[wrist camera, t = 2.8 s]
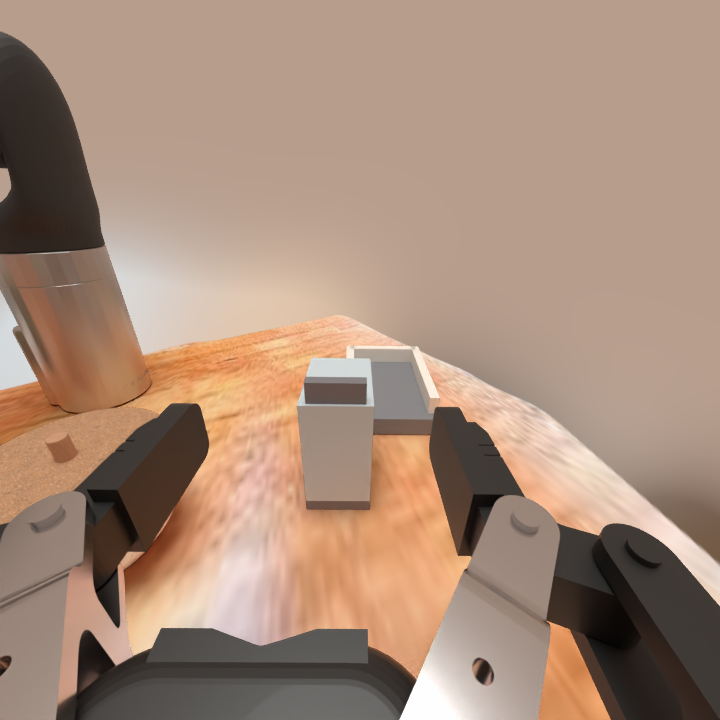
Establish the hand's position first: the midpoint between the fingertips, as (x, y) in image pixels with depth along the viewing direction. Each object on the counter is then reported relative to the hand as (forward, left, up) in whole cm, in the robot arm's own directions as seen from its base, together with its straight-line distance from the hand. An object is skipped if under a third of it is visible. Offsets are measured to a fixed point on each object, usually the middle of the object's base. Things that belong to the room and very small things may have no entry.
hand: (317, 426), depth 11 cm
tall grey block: (0, +11, -15) cm, 19 cm away
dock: (+5, +23, -15) cm, 28 cm away
